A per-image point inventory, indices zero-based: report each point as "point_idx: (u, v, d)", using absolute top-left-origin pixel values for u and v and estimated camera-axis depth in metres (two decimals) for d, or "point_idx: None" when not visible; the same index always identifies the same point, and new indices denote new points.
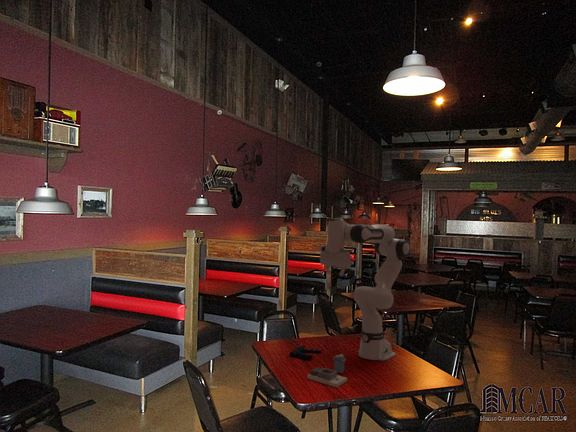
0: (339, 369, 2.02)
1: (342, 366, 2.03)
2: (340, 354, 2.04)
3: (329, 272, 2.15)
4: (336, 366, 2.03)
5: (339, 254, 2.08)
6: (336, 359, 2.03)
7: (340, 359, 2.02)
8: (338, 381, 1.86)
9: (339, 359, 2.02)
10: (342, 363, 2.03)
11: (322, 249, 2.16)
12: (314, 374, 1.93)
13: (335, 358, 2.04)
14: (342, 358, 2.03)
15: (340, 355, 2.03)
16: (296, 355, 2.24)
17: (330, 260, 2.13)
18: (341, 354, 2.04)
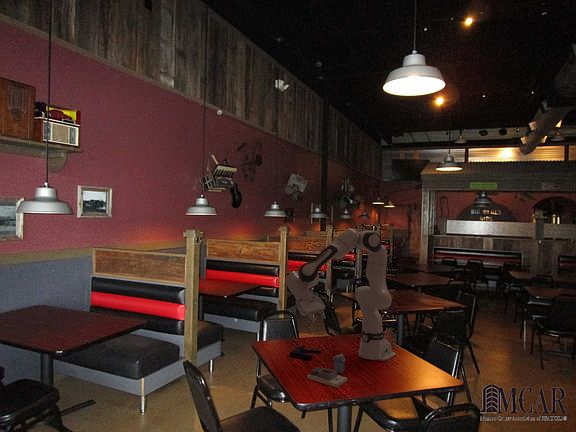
0: (339, 369, 2.02)
1: (342, 366, 2.03)
2: (340, 354, 2.04)
3: (322, 317, 2.15)
4: (336, 366, 2.03)
5: None
6: (336, 359, 2.03)
7: (340, 359, 2.02)
8: (338, 381, 1.86)
9: (339, 359, 2.02)
10: (342, 363, 2.03)
11: None
12: (314, 374, 1.93)
13: (335, 358, 2.04)
14: (342, 358, 2.03)
15: (340, 355, 2.03)
16: (296, 355, 2.24)
17: None
18: (341, 354, 2.04)
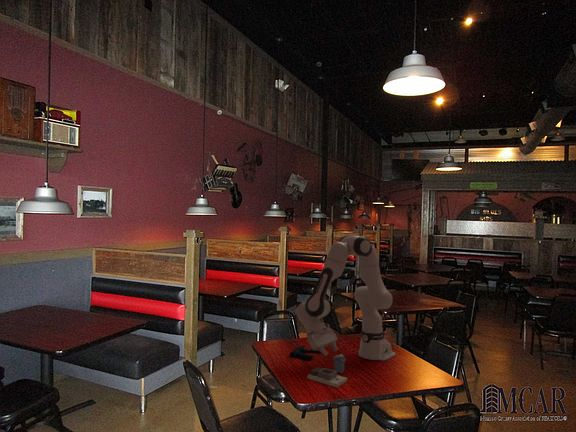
0: (339, 369, 2.02)
1: (342, 366, 2.03)
2: (340, 354, 2.04)
3: (334, 350, 2.10)
4: (336, 366, 2.03)
5: None
6: (336, 359, 2.03)
7: (340, 359, 2.02)
8: (338, 381, 1.86)
9: (339, 359, 2.02)
10: (342, 363, 2.03)
11: None
12: (314, 374, 1.93)
13: (335, 358, 2.04)
14: (342, 358, 2.03)
15: (340, 355, 2.03)
16: (296, 355, 2.23)
17: None
18: (341, 354, 2.04)
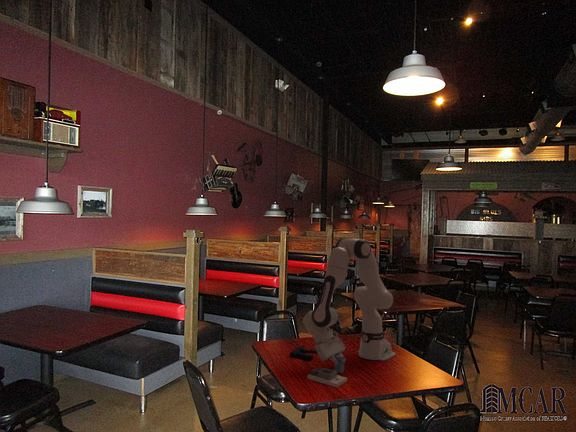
0: (339, 369, 2.02)
1: (342, 366, 2.03)
2: (340, 354, 2.04)
3: None
4: (336, 366, 2.03)
5: None
6: (336, 359, 2.03)
7: (340, 359, 2.02)
8: (338, 381, 1.86)
9: (339, 359, 2.02)
10: (342, 363, 2.03)
11: None
12: (314, 374, 1.93)
13: (335, 358, 2.04)
14: (342, 358, 2.03)
15: (340, 355, 2.03)
16: (296, 355, 2.23)
17: None
18: (341, 354, 2.04)
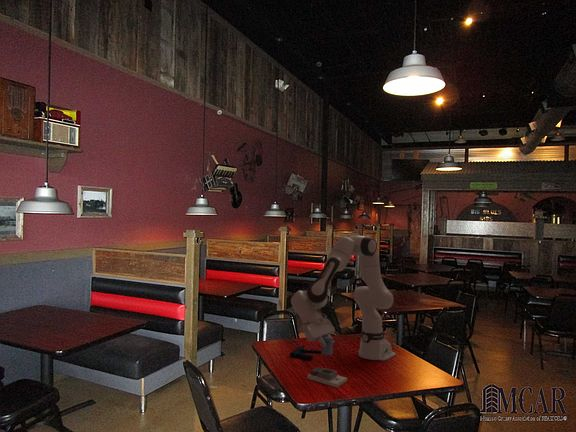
0: (327, 351, 1.91)
1: (330, 348, 1.91)
2: None
3: None
4: (324, 348, 1.92)
5: None
6: (324, 340, 1.92)
7: (328, 340, 1.90)
8: (338, 381, 1.86)
9: (327, 340, 1.91)
10: (330, 345, 1.91)
11: None
12: (314, 374, 1.93)
13: (323, 339, 1.92)
14: (331, 339, 1.91)
15: (328, 336, 1.91)
16: (296, 355, 2.23)
17: None
18: None
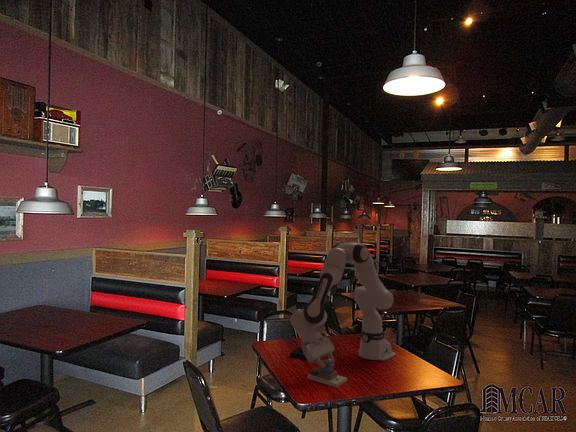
0: None
1: (330, 371, 1.91)
2: None
3: None
4: (324, 371, 1.92)
5: None
6: None
7: (328, 364, 1.90)
8: (338, 381, 1.86)
9: (327, 364, 1.90)
10: (330, 368, 1.91)
11: None
12: (314, 374, 1.93)
13: None
14: (330, 362, 1.91)
15: (328, 359, 1.91)
16: (296, 355, 2.23)
17: None
18: None
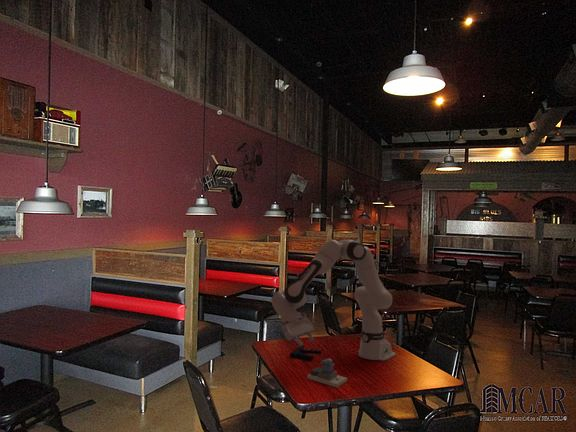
0: None
1: (330, 371, 1.91)
2: None
3: (310, 340, 2.03)
4: (324, 371, 1.92)
5: None
6: (324, 364, 1.92)
7: (328, 364, 1.90)
8: (338, 381, 1.86)
9: (327, 364, 1.90)
10: (330, 368, 1.91)
11: None
12: (314, 374, 1.93)
13: (323, 362, 1.92)
14: (330, 362, 1.91)
15: (328, 359, 1.91)
16: (297, 356, 2.23)
17: None
18: None
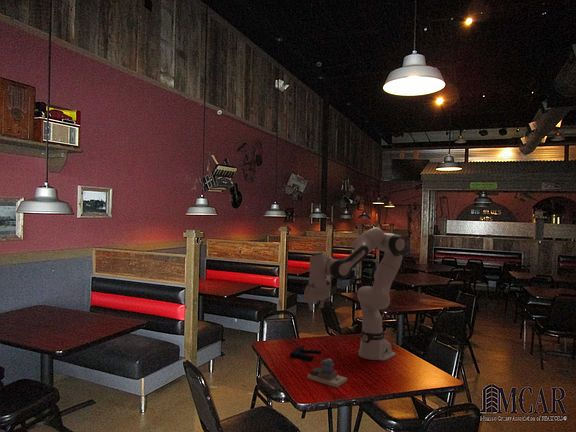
0: None
1: (330, 371, 1.91)
2: None
3: (320, 306, 2.18)
4: (324, 371, 1.92)
5: None
6: (324, 364, 1.92)
7: (328, 364, 1.90)
8: (338, 381, 1.86)
9: (327, 364, 1.90)
10: (330, 368, 1.91)
11: None
12: (314, 374, 1.93)
13: (323, 362, 1.92)
14: (330, 362, 1.91)
15: (328, 359, 1.91)
16: (297, 356, 2.22)
17: None
18: None
